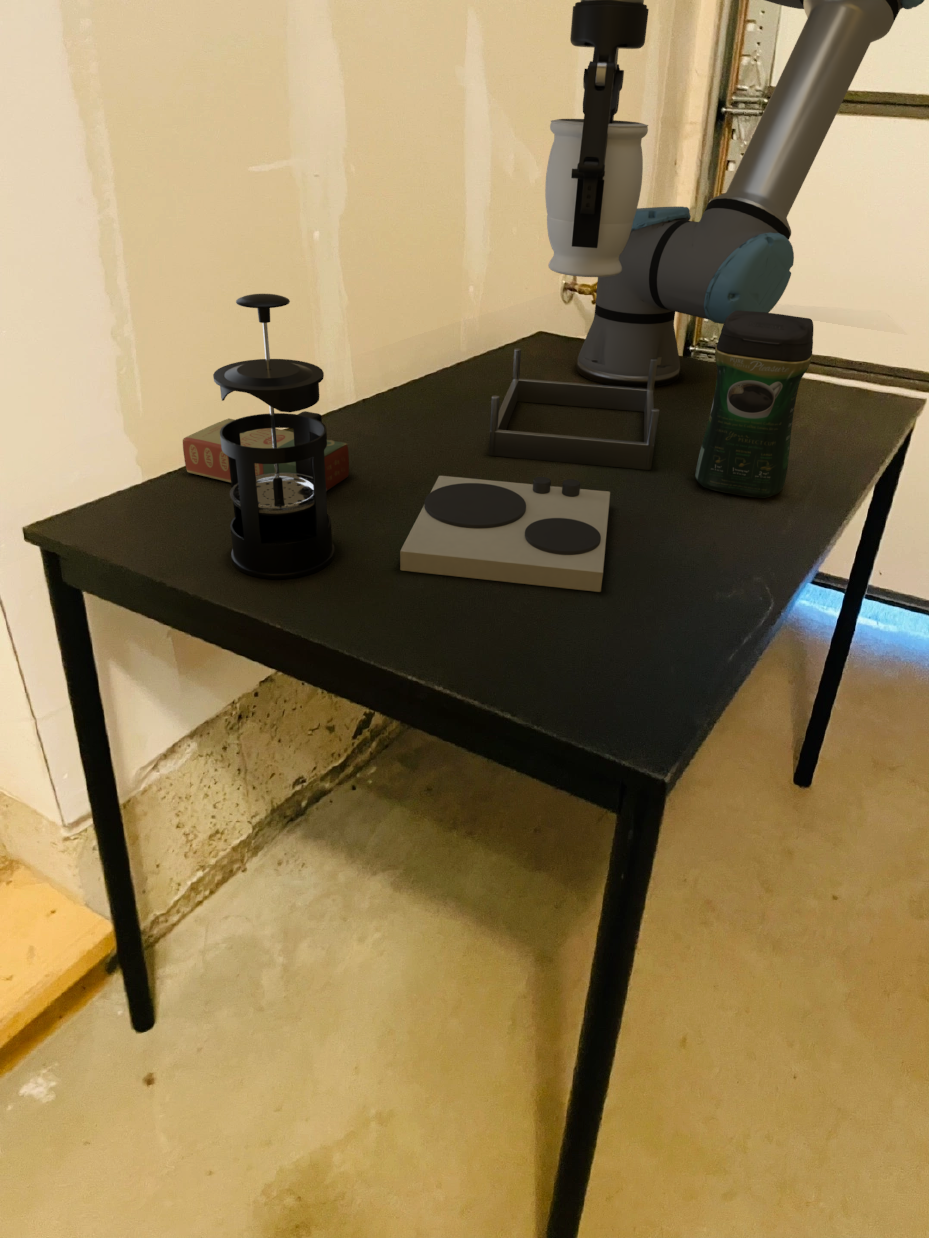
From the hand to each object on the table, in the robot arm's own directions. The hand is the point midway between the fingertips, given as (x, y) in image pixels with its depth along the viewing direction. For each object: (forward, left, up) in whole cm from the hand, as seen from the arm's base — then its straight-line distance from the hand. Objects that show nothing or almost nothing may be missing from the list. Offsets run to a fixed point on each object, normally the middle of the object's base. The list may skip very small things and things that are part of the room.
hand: (587, 239), depth 102 cm
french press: (+38, -23, -23) cm, 50 cm away
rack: (-2, +1, -23) cm, 23 cm away
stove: (+30, -3, -23) cm, 38 cm away
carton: (+21, -31, -23) cm, 44 cm away
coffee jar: (+11, +20, -23) cm, 32 cm away
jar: (0, 0, -4) cm, 4 cm away
